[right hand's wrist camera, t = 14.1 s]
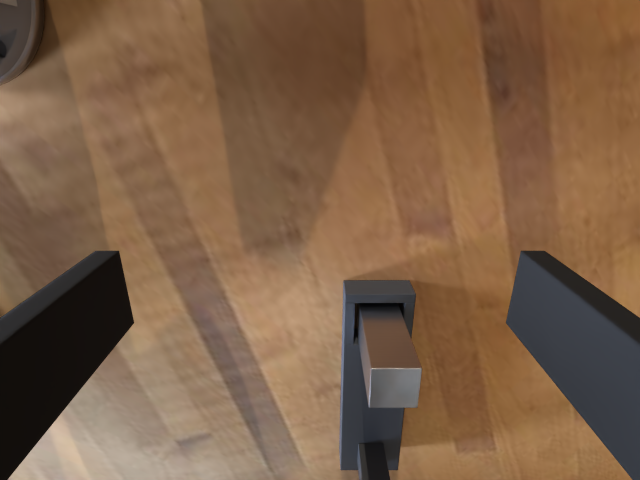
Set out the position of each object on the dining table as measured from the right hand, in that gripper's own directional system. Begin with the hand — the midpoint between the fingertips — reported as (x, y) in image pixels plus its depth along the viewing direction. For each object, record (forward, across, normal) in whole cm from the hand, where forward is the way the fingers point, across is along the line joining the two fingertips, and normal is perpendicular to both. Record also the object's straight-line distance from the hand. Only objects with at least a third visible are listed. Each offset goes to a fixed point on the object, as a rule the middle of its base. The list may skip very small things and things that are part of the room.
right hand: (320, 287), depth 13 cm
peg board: (+25, +6, -25) cm, 36 cm away
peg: (+25, +6, -16) cm, 30 cm away
